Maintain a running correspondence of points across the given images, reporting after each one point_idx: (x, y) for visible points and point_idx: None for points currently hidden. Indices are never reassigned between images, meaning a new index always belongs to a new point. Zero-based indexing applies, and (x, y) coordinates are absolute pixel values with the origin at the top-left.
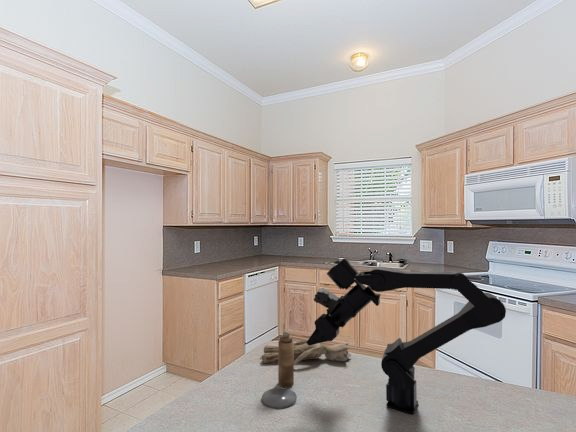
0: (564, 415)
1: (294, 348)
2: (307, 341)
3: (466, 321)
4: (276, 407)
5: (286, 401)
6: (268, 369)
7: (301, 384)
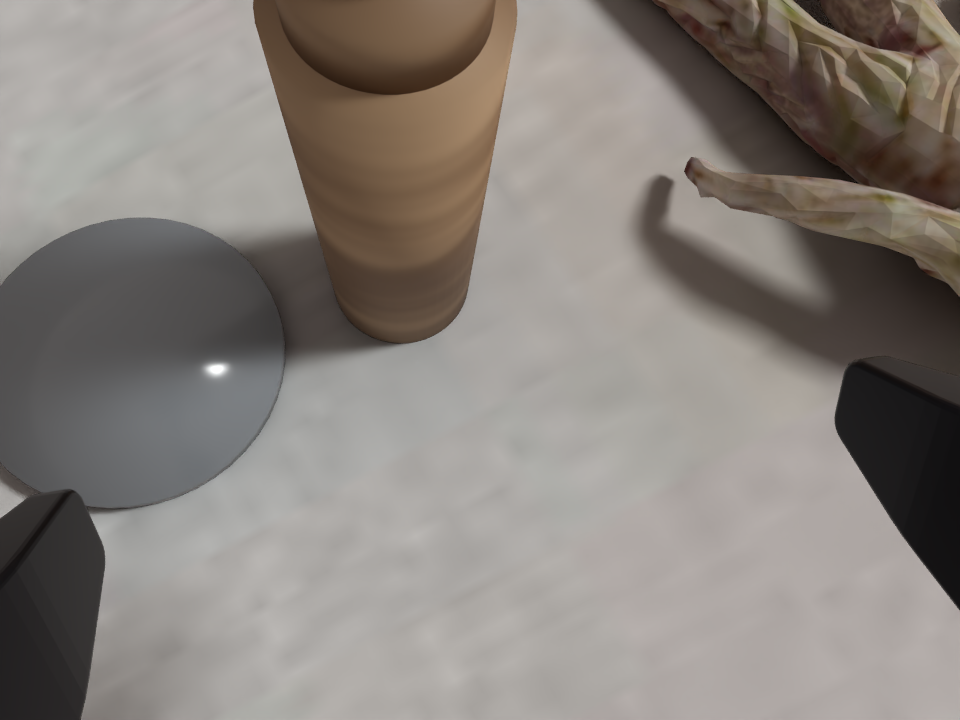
0: None
1: (897, 63)
2: (8, 525)
3: None
4: None
5: (71, 451)
6: (543, 44)
7: (457, 400)
